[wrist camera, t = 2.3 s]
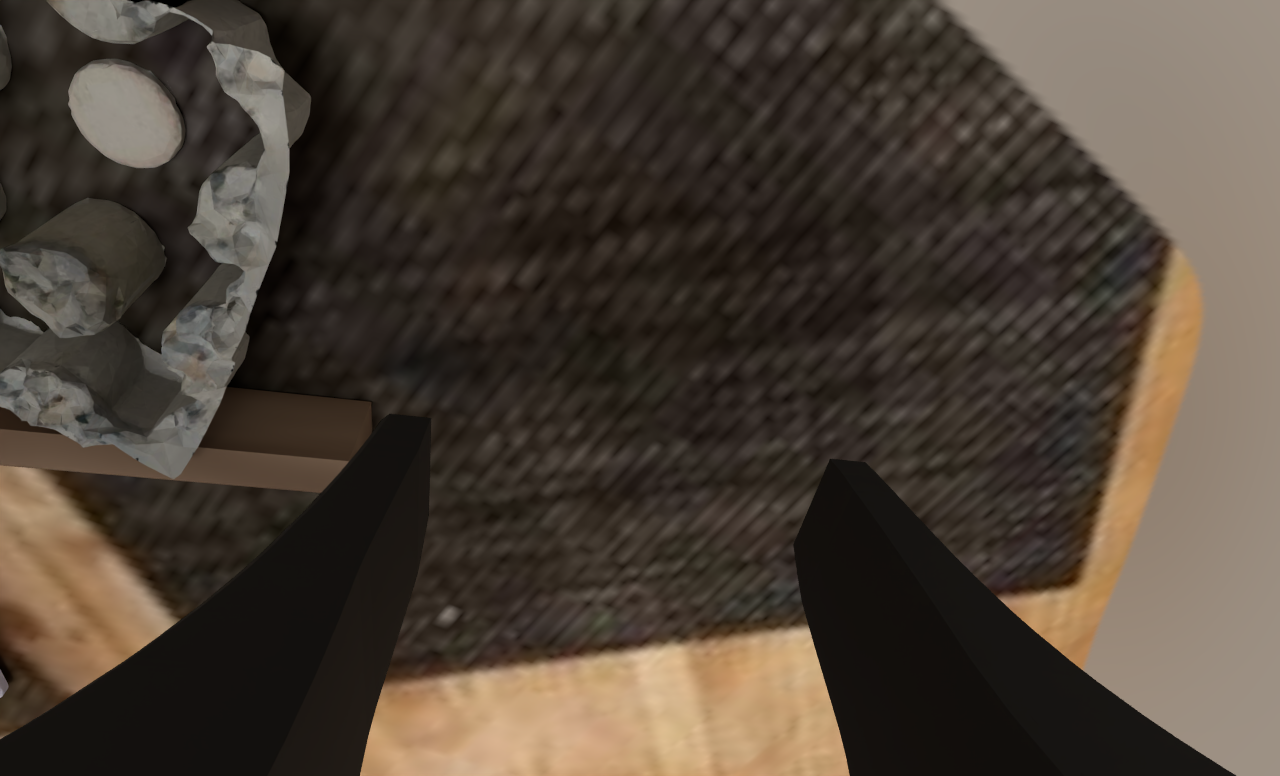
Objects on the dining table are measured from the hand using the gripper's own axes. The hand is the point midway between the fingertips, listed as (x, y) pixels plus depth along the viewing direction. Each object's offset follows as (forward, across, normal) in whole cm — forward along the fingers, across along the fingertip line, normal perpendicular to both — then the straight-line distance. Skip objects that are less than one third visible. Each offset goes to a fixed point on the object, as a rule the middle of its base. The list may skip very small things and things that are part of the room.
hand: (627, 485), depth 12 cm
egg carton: (+9, +11, 0) cm, 14 cm away
